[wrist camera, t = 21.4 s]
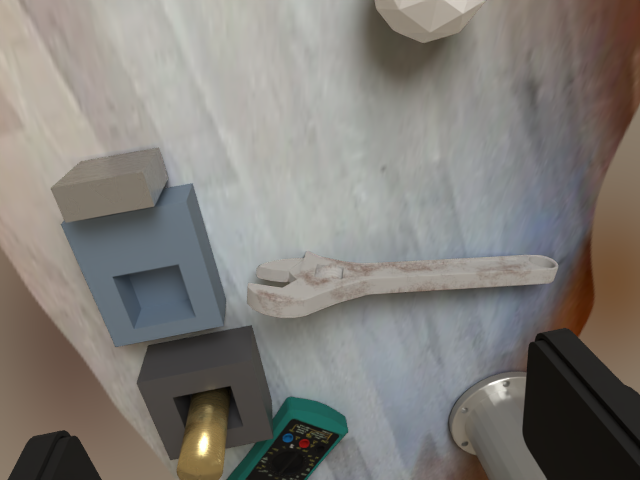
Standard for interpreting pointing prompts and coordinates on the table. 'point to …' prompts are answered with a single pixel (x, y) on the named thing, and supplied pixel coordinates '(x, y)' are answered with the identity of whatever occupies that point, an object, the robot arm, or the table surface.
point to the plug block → (111, 185)
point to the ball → (427, 16)
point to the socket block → (151, 268)
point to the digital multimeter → (294, 442)
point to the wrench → (383, 279)
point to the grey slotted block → (207, 385)
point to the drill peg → (205, 436)
